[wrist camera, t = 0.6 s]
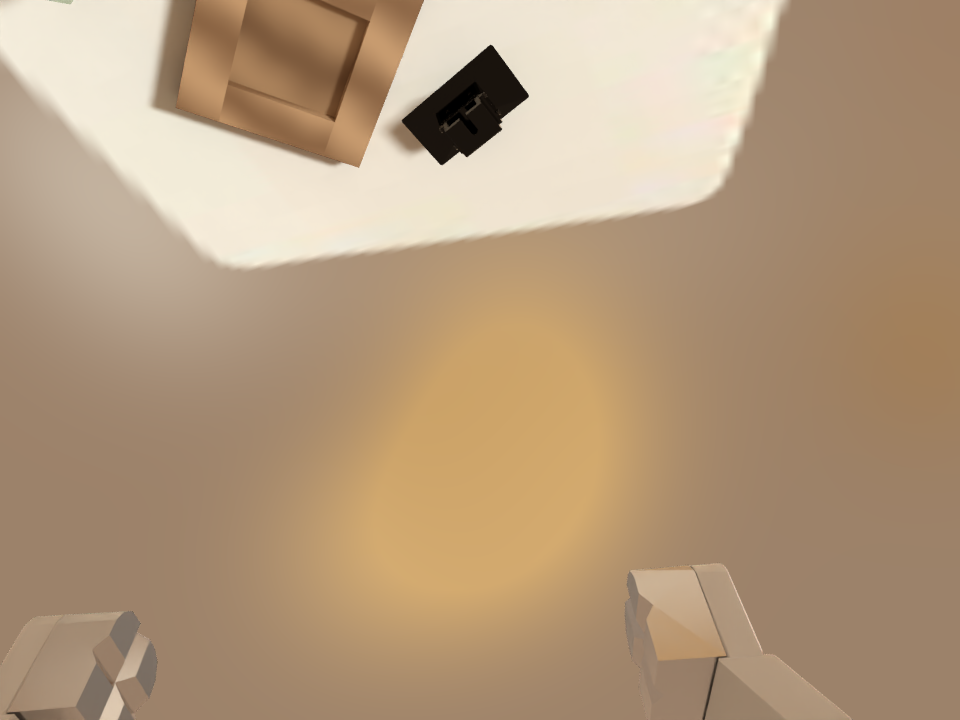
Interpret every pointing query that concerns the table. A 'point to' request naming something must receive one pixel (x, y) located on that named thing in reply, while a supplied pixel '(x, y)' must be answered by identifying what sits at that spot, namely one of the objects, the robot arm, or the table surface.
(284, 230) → the table surface
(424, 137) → the black stand
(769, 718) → the robot arm
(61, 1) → the block stack
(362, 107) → the walnut plate
